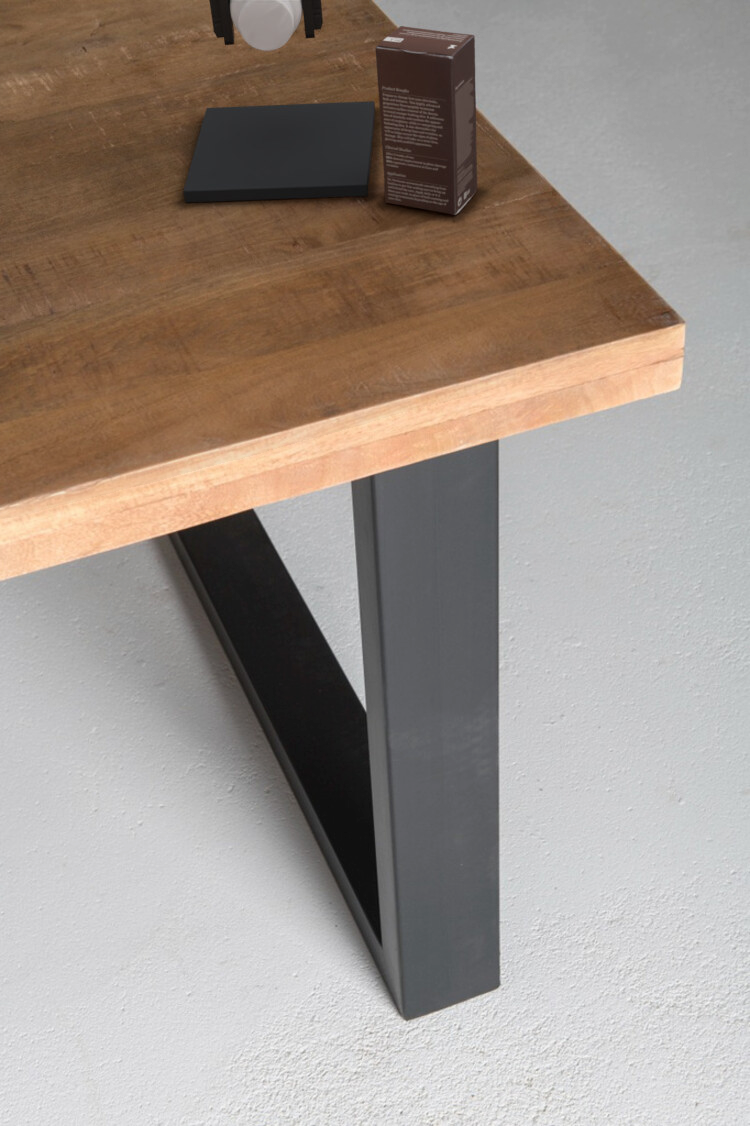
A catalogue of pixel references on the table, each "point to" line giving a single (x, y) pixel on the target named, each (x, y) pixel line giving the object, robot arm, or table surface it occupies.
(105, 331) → the table surface
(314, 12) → the robot arm
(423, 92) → the box
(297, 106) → the charcoal mat
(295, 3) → the supplement bottle
